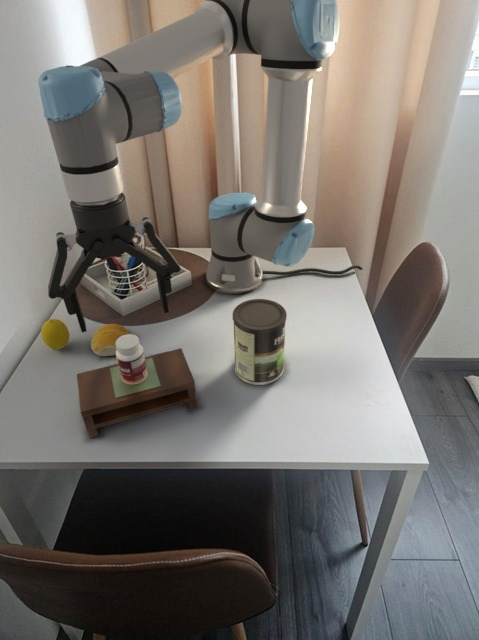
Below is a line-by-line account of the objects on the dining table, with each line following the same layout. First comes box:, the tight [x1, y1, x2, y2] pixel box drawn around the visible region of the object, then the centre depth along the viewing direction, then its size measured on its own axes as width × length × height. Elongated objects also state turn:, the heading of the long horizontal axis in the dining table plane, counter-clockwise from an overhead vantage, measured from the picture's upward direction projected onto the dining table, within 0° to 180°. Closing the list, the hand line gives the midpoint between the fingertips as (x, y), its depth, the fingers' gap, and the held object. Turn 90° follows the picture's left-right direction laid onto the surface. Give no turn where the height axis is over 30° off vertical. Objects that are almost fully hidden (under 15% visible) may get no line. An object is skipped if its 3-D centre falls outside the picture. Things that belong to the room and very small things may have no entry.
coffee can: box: [232, 298, 287, 386], centre depth 89 cm, size 10×10×14 cm
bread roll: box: [90, 323, 130, 357], centre depth 99 cm, size 8×9×4 cm
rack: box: [76, 347, 198, 439], centre depth 83 cm, size 20×10×7 cm, turn 110°
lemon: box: [40, 318, 70, 350], centre depth 97 cm, size 6×6×8 cm
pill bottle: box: [115, 333, 148, 385], centre depth 79 cm, size 5×5×8 cm
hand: (125, 317), depth 74 cm, fingers open, 13 cm apart
